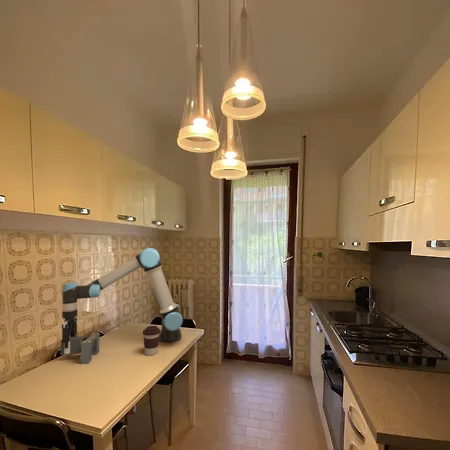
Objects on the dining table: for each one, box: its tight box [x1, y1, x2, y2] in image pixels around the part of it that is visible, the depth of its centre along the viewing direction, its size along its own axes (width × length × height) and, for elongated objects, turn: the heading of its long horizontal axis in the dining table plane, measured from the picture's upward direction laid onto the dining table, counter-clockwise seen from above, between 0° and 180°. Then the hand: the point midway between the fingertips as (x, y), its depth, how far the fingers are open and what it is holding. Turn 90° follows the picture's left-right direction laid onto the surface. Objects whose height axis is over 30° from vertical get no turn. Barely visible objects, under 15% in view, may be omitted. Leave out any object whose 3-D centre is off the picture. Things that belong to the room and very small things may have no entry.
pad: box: [63, 353, 81, 357], centre depth 154 cm, size 9×6×1 cm, turn 96°
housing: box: [80, 332, 100, 365], centre depth 149 cm, size 4×16×11 cm, turn 6°
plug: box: [60, 335, 84, 356], centre depth 149 cm, size 13×5×8 cm, turn 98°
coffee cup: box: [142, 325, 161, 357], centre depth 154 cm, size 10×10×15 cm
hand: (69, 351), depth 148 cm, fingers closed on plug, 5 cm apart
